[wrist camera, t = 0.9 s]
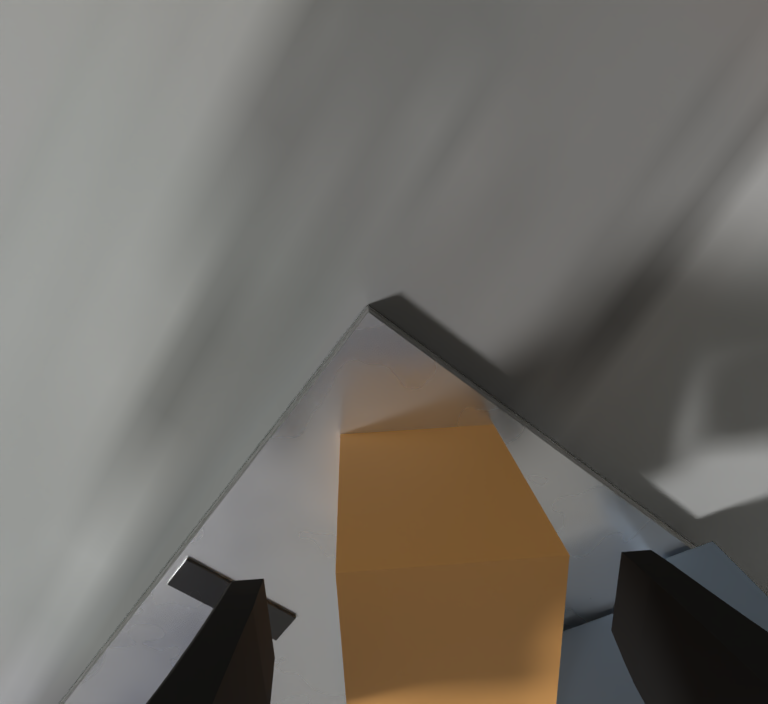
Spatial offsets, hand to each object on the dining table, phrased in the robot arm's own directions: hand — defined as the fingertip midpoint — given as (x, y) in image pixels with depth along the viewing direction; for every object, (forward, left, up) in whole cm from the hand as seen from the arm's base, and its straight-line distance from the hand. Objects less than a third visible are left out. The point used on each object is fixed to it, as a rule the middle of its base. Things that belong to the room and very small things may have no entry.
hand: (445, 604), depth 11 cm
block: (0, 0, -4) cm, 4 cm away
